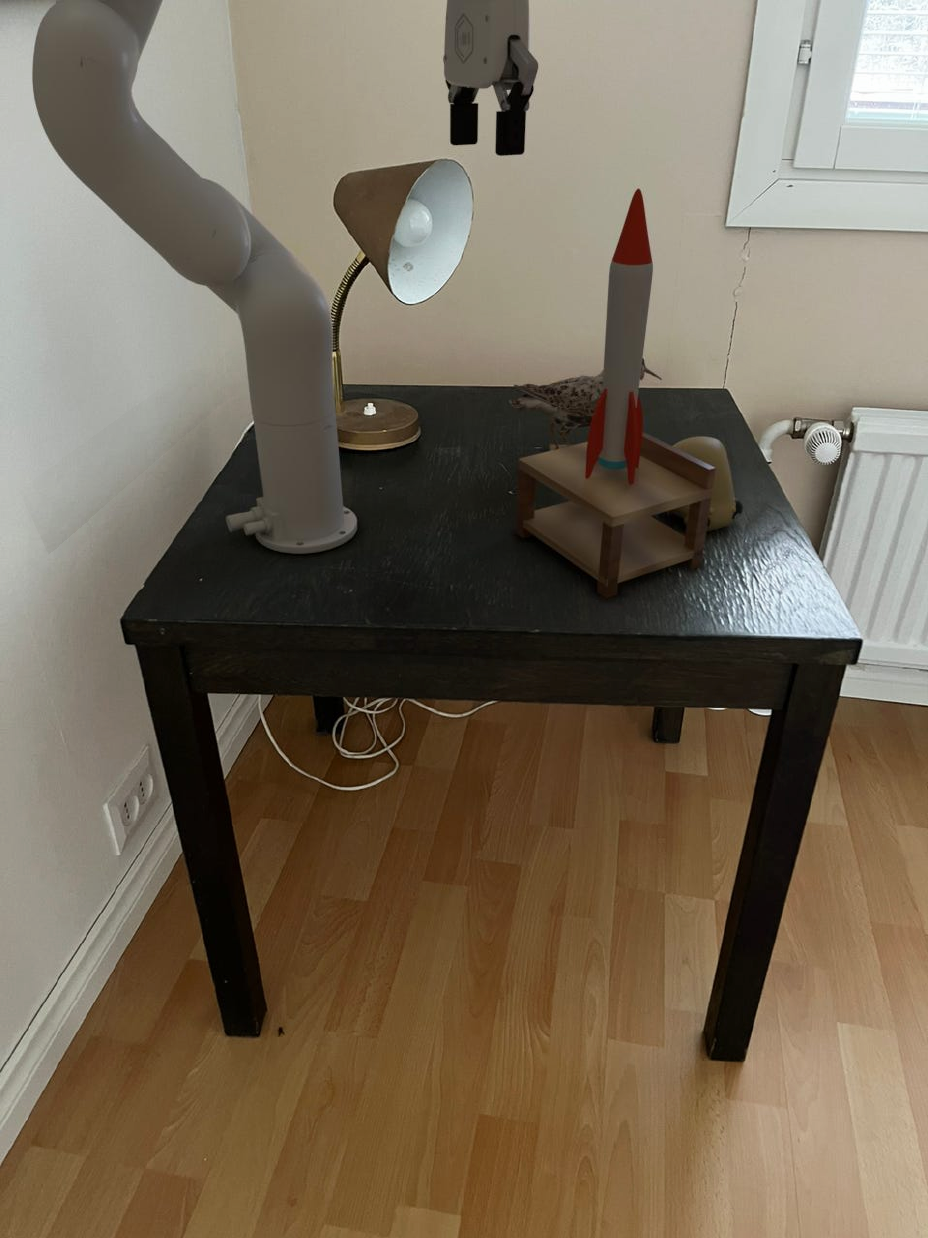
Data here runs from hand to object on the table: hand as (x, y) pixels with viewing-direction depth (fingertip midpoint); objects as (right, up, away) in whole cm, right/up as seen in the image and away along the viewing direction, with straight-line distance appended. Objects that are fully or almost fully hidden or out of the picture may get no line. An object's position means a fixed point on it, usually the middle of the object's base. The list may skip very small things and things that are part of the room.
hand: (486, 149), depth 101 cm
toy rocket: (+15, -34, +8) cm, 37 cm away
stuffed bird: (+14, -28, +35) cm, 47 cm away
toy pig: (+27, -37, +20) cm, 50 cm away
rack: (+15, -42, +13) cm, 46 cm away
